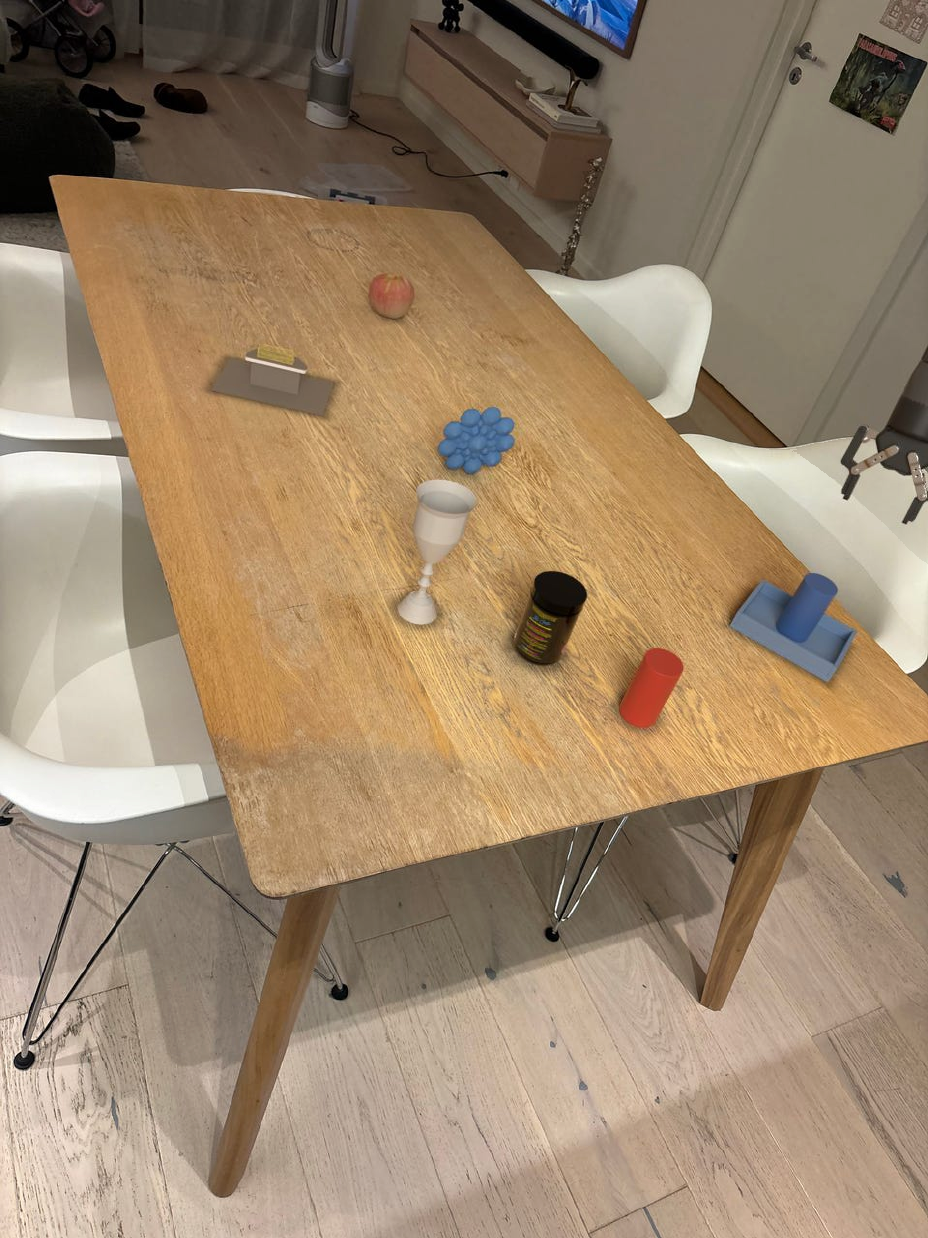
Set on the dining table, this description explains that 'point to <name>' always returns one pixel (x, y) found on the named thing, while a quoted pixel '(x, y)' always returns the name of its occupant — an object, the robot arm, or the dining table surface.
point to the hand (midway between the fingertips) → (874, 510)
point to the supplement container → (549, 617)
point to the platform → (274, 381)
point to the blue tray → (811, 655)
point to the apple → (391, 295)
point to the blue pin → (806, 607)
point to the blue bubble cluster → (476, 440)
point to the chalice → (435, 538)
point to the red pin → (651, 687)
